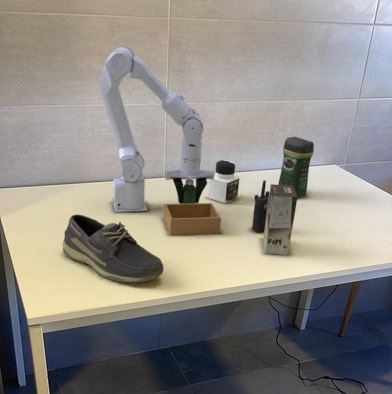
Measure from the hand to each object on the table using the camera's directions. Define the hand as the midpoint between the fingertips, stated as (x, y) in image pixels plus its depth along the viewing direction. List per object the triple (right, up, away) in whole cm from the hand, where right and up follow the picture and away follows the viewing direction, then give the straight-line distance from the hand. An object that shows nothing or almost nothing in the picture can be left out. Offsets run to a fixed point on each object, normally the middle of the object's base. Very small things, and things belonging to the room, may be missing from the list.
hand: (188, 202), depth 164 cm
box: (+1, -9, -9) cm, 12 cm away
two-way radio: (+20, -9, -8) cm, 24 cm away
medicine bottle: (+11, +3, +12) cm, 17 cm away
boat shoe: (-19, -22, -33) cm, 44 cm away
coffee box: (+24, -16, -17) cm, 33 cm away
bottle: (0, -2, +1) cm, 3 cm away
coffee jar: (+35, +6, +20) cm, 41 cm away
